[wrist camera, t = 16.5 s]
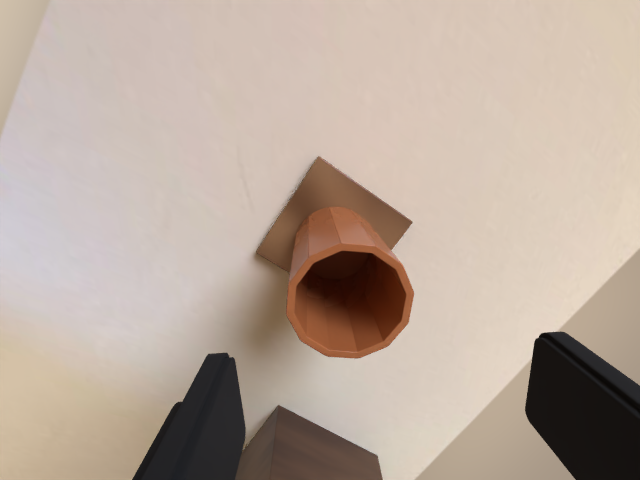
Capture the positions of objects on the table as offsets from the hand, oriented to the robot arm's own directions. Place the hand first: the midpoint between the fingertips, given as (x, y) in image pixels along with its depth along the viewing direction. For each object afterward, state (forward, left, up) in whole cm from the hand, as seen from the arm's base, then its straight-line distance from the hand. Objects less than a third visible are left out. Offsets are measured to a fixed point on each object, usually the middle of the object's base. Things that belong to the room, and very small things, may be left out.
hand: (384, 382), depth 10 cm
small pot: (0, 0, -16) cm, 16 cm away
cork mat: (0, 0, -17) cm, 17 cm away
